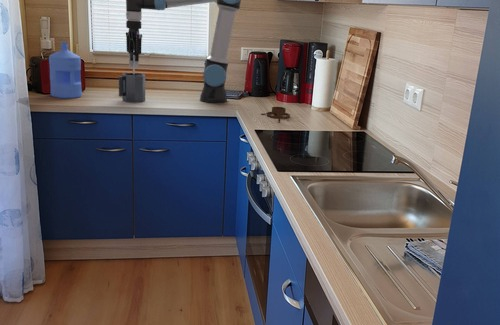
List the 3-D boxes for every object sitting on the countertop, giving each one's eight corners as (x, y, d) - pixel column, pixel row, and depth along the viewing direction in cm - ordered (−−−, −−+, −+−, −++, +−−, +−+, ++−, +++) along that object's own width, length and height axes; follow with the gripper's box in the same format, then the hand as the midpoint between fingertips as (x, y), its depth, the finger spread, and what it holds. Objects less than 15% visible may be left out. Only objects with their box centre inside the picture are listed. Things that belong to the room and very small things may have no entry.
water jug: (45, 94, 270) (42, 40, 261) (72, 92, 281) (70, 40, 273) (60, 99, 260) (58, 43, 252) (87, 97, 272) (86, 43, 263)
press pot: (138, 98, 278) (138, 72, 273) (148, 102, 270) (148, 75, 265) (114, 99, 269) (114, 73, 265) (124, 103, 261) (124, 76, 257)
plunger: (137, 90, 274) (137, 51, 268) (144, 92, 268) (144, 53, 262) (123, 90, 269) (123, 51, 263) (130, 93, 263) (130, 53, 257)
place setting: (299, 118, 258) (300, 107, 256) (281, 124, 241) (282, 112, 239) (268, 113, 266) (269, 101, 264) (249, 118, 249) (250, 106, 247)
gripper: (119, 19, 262) (119, 64, 269) (135, 21, 249) (135, 69, 256) (132, 19, 266) (132, 64, 273) (148, 21, 254) (148, 68, 261)
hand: (133, 66), depth 265 cm, fingers closed on plunger, 4 cm apart
